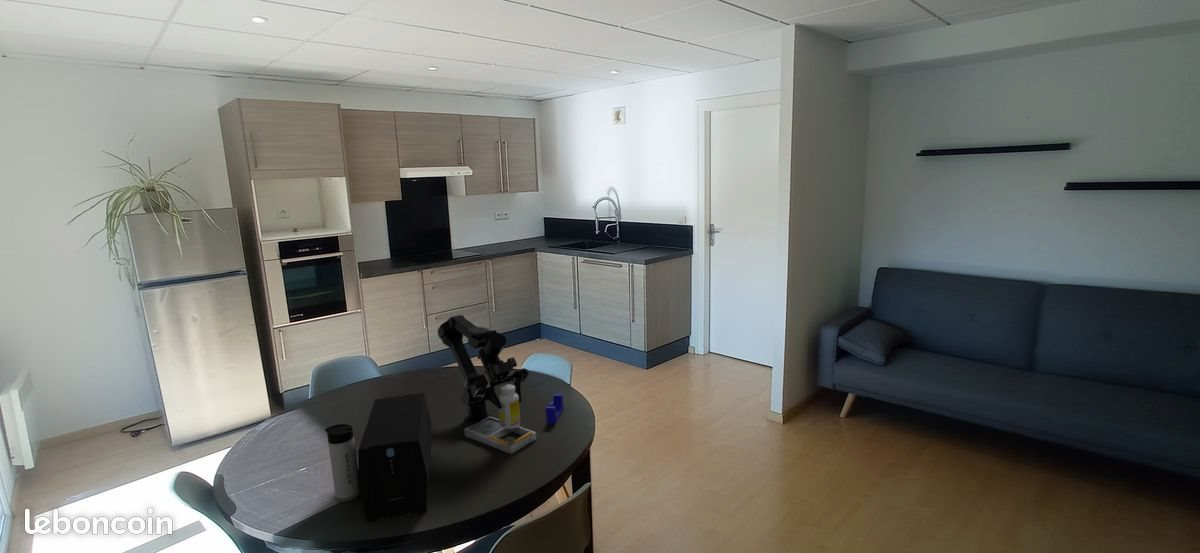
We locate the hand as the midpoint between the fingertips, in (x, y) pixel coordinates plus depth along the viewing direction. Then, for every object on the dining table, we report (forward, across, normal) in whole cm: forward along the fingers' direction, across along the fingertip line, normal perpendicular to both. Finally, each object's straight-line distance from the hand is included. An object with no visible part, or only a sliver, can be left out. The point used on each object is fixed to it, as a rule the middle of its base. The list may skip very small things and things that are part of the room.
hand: (510, 405), depth 171 cm
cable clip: (+4, +21, +15) cm, 26 cm away
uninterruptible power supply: (+8, -35, +10) cm, 37 cm away
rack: (+5, -1, +14) cm, 14 cm away
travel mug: (+6, -49, +13) cm, 51 cm away
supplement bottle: (+4, 0, +6) cm, 7 cm away
